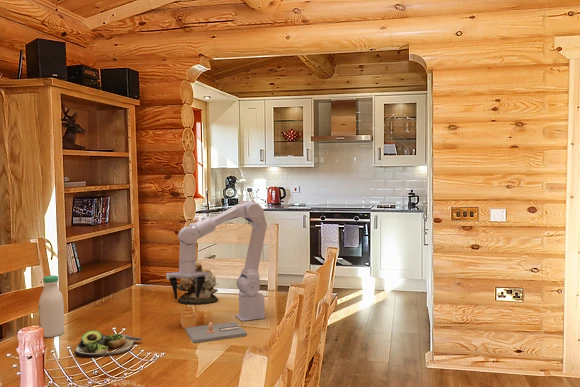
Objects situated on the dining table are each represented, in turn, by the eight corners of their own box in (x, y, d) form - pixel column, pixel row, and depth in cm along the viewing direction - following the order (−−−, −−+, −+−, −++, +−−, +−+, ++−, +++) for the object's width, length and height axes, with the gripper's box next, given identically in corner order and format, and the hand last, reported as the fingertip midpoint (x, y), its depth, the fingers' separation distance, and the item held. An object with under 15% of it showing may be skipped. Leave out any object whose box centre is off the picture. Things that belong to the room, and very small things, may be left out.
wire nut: (193, 323, 179) (193, 305, 179) (196, 326, 175) (195, 308, 174) (181, 324, 177) (180, 306, 177) (183, 328, 173) (183, 310, 173)
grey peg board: (235, 324, 177) (235, 312, 177) (246, 335, 164) (246, 323, 164) (185, 330, 170) (185, 318, 170) (193, 343, 158) (193, 330, 157)
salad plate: (143, 336, 166) (143, 322, 166) (139, 355, 149) (139, 340, 148) (83, 340, 162) (82, 327, 162) (71, 360, 144) (71, 345, 144)
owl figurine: (173, 305, 204) (172, 265, 203) (178, 298, 215) (177, 260, 215) (216, 304, 205) (216, 264, 204) (219, 297, 217) (218, 259, 216)
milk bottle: (69, 331, 170) (68, 275, 169) (52, 338, 163) (50, 279, 162) (52, 329, 173) (50, 273, 172) (34, 336, 165) (32, 278, 165)
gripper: (167, 263, 169) (167, 302, 169) (209, 261, 174) (208, 299, 174) (165, 259, 175) (165, 297, 176) (206, 258, 180) (205, 295, 181)
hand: (186, 298), depth 175 cm, fingers open, 7 cm apart
